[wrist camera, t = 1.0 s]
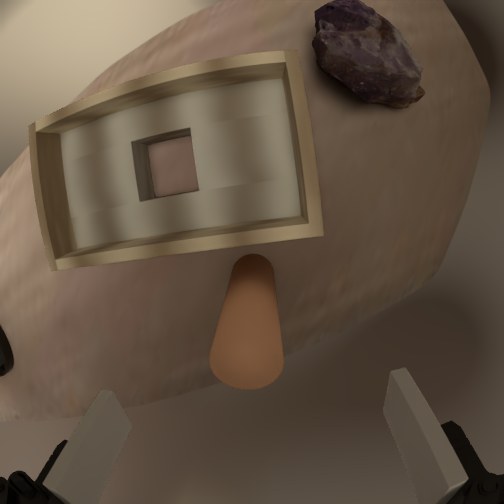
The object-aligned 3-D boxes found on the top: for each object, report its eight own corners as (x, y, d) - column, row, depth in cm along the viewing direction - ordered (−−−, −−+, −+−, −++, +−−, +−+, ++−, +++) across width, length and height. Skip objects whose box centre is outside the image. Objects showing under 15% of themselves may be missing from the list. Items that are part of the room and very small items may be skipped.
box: (91, 249, 30) (51, 271, 22) (73, 131, 26) (28, 125, 18) (306, 218, 28) (323, 235, 20) (287, 81, 25) (297, 49, 17)
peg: (235, 294, 31) (217, 391, 16) (229, 256, 29) (202, 335, 15) (275, 290, 30) (286, 386, 16) (270, 251, 29) (280, 327, 15)
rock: (350, 24, 23) (282, 60, 25) (365, -22, 15) (281, 11, 16) (421, 99, 24) (358, 144, 25) (459, 68, 15) (387, 117, 17)
